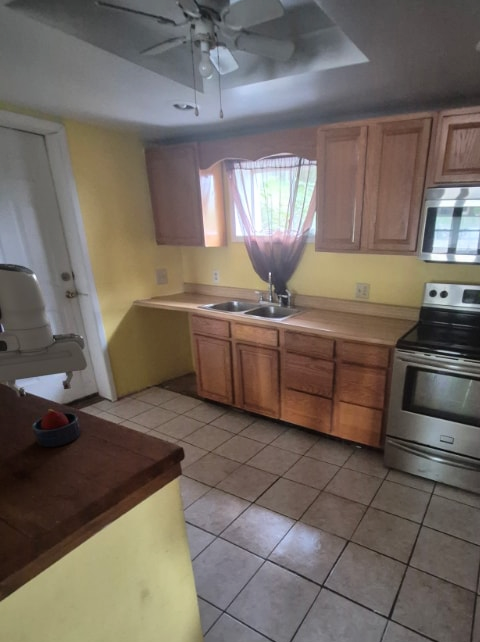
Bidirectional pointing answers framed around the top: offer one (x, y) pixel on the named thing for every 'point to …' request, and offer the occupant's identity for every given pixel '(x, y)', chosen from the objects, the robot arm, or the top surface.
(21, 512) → the top surface
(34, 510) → the top surface
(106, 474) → the top surface
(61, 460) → the top surface
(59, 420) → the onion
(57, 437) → the bowl
